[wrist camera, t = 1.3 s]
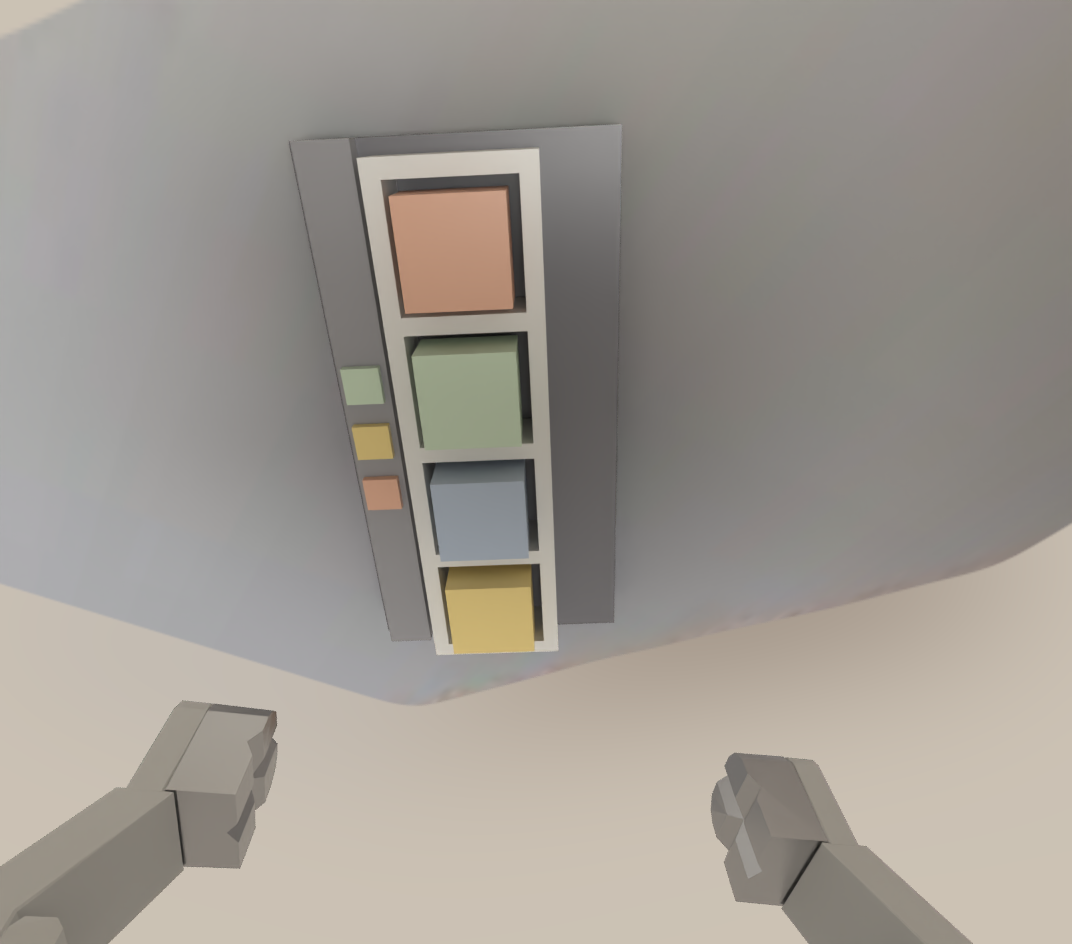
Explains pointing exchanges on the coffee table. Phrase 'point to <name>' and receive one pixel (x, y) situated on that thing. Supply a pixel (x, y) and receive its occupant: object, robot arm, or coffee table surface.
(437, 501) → the key slate
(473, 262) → the key terracotta
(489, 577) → the key ochre
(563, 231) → the coloured button panel
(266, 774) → the robot arm
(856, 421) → the coffee table surface
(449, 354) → the key sage
